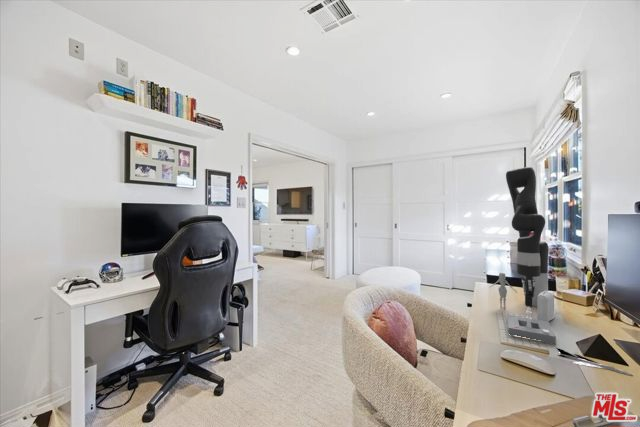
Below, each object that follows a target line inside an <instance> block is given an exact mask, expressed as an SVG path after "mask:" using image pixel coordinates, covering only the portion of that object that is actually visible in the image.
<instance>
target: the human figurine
mask: <svg viewBox="0 0 640 427" xmlns="http://www.w3.org/2000/svg"><path fill="white" fill-rule="evenodd" d="M506 277H507V276H506V273H504V272H499V273H498V280H497V281H496V282H494V283H493V284H492V285H490V286H489V288H488V289H490V288H491V287H493V286H495V285H496V284H497V283H499V284H500V286H499V287H498V293H499V294H498V295H499V297H500V298H499V301H500V302H499V303H500V309H503V310H506V309H507V307H506V304H507V303H506V302H507V301H506V300H507V298H506V297H507V293H508V290H507V287H506V285H508V286H509V287H510V289H512V291H514V292H515V293H518V292H517V290H516V289H515V288H513V286H512V285H510V284H509V282H508V281H507V280H506V279H507V278H506ZM502 305H503V306H502Z"/></svg>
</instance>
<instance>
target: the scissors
mask: <svg viewBox="0 0 640 427" xmlns="http://www.w3.org/2000/svg"><path fill="white" fill-rule="evenodd" d="M556 350H557V351H558V353H559V354H558V356H560V357H563V358H569V359H573V360H575V361H571V363H573V364H576V365H580V366H587V367H591V368H592V367H593V368H598V369H604V370H605V369H606V370H610V371H613V372H616V373H620V374H624V375H627V376H631V377H633V376H634V374H633V373H629V372H627V371H624V370H622V369H618V368H615V367H614V366H611V365H607V364H601V363H599V362H596V361H594V360H591V359H589V358H587V357H585V356H583V355H580V354H576V353H573V354H572V353H570V352H568V351H566V350H564V349H561V348H558V347H556Z"/></svg>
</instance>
